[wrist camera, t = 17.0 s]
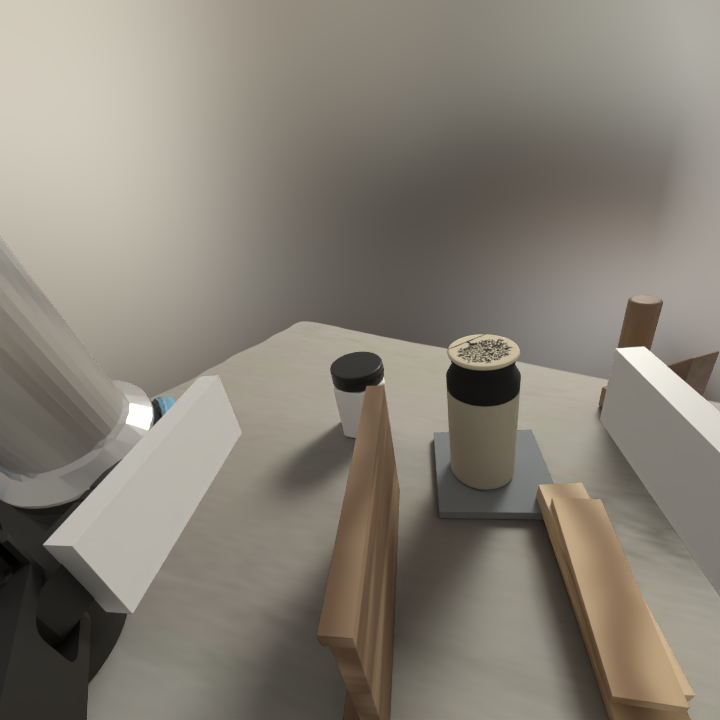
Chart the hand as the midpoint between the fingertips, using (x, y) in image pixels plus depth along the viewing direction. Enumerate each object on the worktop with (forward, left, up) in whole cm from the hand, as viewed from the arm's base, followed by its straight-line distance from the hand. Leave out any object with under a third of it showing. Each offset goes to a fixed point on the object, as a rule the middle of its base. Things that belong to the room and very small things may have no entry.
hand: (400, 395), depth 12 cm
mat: (+8, +26, -32) cm, 42 cm away
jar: (-10, +37, -32) cm, 50 cm away
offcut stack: (+15, +11, -31) cm, 36 cm away
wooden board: (-5, +11, -32) cm, 34 cm away
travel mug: (+7, +26, -31) cm, 41 cm away
